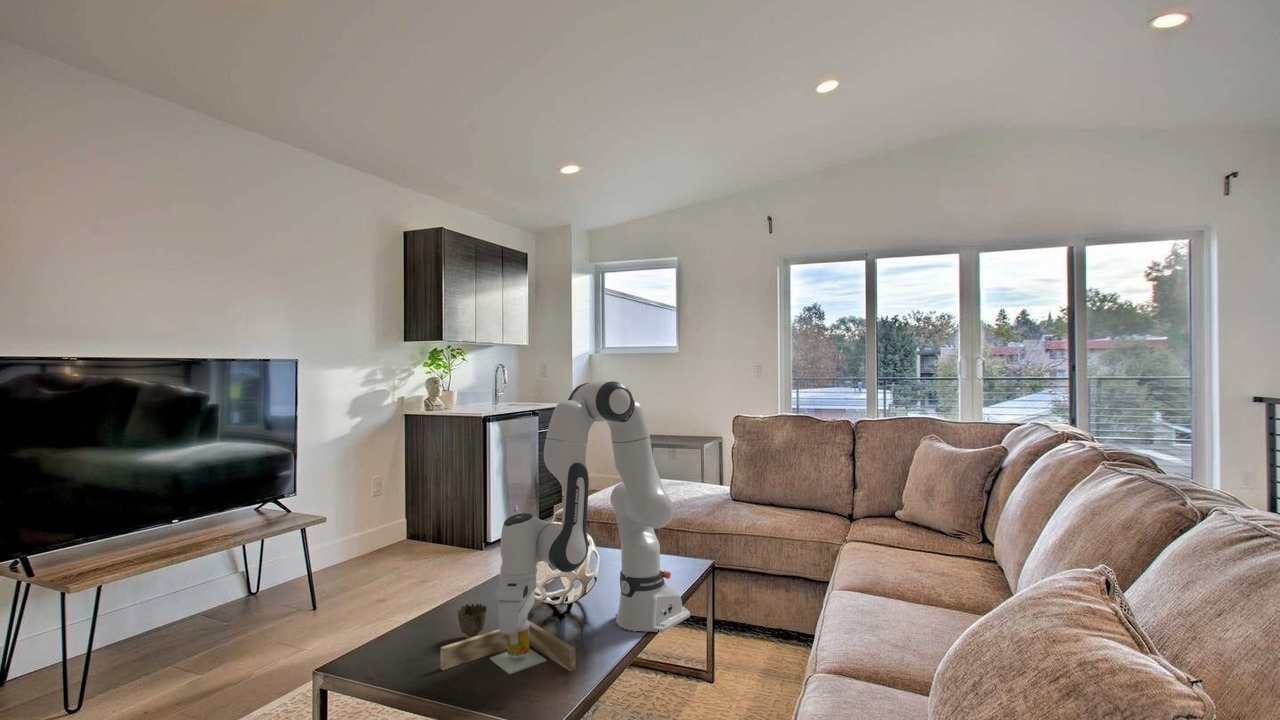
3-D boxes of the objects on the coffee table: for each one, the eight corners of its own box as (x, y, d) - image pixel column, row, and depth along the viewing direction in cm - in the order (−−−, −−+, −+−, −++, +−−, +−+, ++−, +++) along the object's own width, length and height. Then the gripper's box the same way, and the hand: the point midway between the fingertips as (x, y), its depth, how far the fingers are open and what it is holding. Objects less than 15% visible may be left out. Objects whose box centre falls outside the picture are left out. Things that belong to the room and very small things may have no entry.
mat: (525, 647, 152) (525, 645, 152) (546, 661, 145) (546, 659, 145) (489, 659, 146) (489, 657, 146) (509, 674, 138) (509, 672, 138)
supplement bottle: (505, 658, 142) (505, 618, 143) (508, 648, 148) (508, 609, 148) (528, 657, 143) (528, 617, 143) (530, 647, 148) (530, 608, 149)
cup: (478, 645, 153) (478, 614, 153) (452, 643, 154) (452, 612, 155) (491, 633, 160) (491, 604, 161) (466, 631, 162) (466, 602, 162)
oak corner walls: (527, 639, 157) (527, 620, 157) (575, 669, 141) (575, 648, 141) (440, 668, 141) (440, 647, 141) (482, 706, 125) (482, 682, 125)
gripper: (517, 567, 156) (517, 620, 156) (493, 595, 136) (493, 656, 136) (540, 567, 156) (540, 620, 156) (520, 596, 136) (520, 657, 135)
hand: (518, 637), depth 145 cm, fingers closed on supplement bottle, 5 cm apart
